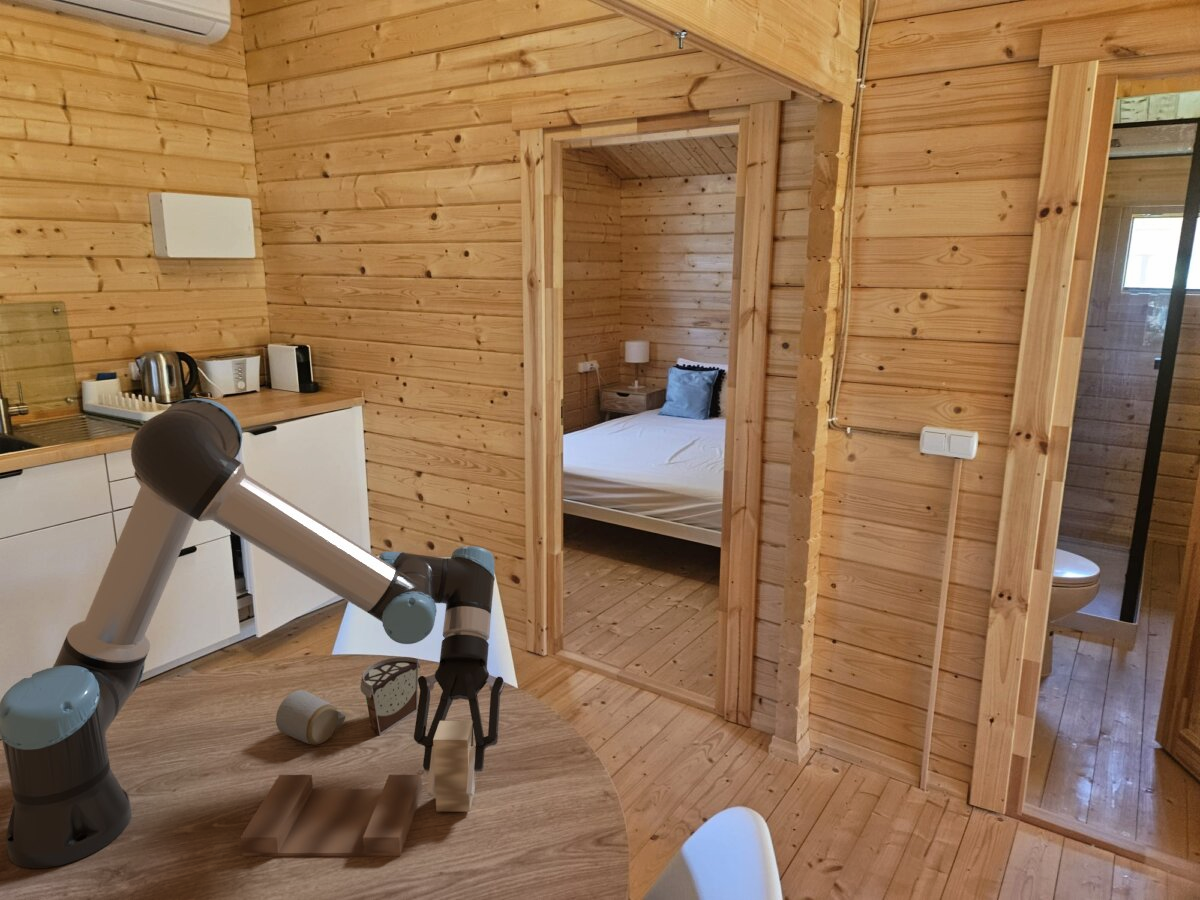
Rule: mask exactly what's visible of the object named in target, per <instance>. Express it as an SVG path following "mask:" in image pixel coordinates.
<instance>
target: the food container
mask: <svg viewBox="0 0 1200 900" xmlns="http://www.w3.org/2000/svg"><path fill="white" fill-rule="evenodd" d="M419 669H421V664H420V661H419V658H418V657H417V658H416V657H411V656H395V657H390V658H386V659H381V660H380V661H377V662H374V663H372V664H371V665H369V666H368V667H367V668H366V669H365V670H364V672H363V674H362V676H361V679H360V686H359V687H360V692H361V693H362V694H363V695H364V696H365V699H366V706H367V710H368V717H369V722H370V728H371V730H372V732H374V733H375V734H376V735H378V736H381V735H382V734H385V733H386V732H387V731H389V730H390V729H391V728H393V727H395V726H396V725H398V724H399V723H401V722H402V721H404V720H405V719H406V718H408V717H410V716H411V715H412V714H414V713H417V710H418V700H419V698H418V697H419V696H418V693H419V692H418V688H419V683H418V678H419Z"/></svg>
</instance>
